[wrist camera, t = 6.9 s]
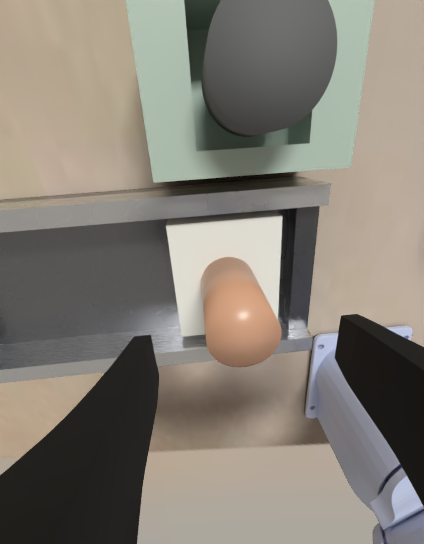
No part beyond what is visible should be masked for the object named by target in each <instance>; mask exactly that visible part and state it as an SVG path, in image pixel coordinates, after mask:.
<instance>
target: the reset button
mask: <svg viewBox="0 0 424 544" xmlns="http://www.w3.org/2000/svg"><path fill="white" fill-rule="evenodd" d="M336 55H337V29H336V23H335V18H334V14H333V11H332V8H331V6H330V3H329V1H328V0H221V1H220V3H219V5H218V6H217V8H216V11H215V13H214V15H213V18H212V21H211V24H210V27H209V32H208V37H207V43H206V49H205V56H204V62H203V69H202V78H201V79H202V93H203V97H204V101H205V104H206V107H207V109H208V111H209V113H210V115H211V116H212V118H213V119H214V120H215V121H216V123H217V124H218V125H219V126H221V127H222V128H223V129H224V130H226V131H228V132H230V133H232V134H234V135H238V136H243V137H251V136H257V135H261V134H266V133H270V132H274V131H278V130H282V129H285V128H288V127H290V126H292V125H294V124H296V123H297V122H299V121H300V120H302V119H303V118H304V117H305V116H307V115H308V114H309V113H310V112H311V111H312V110H313V109H314V107H315V106H316V105H317V104H318V102H319V101H320V99H321V98H322V96H323V94H324V93H325V91H326V89H327V87H328V85H329V82H330V80H331V77H332V74H333V70H334V66H335V62H336Z"/></svg>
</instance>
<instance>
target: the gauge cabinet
mask: <svg viewBox="0 0 424 544" xmlns="http://www.w3.org/2000/svg"><path fill="white" fill-rule="evenodd" d="M220 1H221V0H126V5H127V12H128V18H129V25H130V31H131V38H132V45H133V51H134V58H135V64H136V71H137V78H138V84H139V91H140V97H141V104H142V110H143V117H144V124H145V130H146V137H147V143H148V150H149V157H150V163H151V170H152V176H153V183H156V182H169V181H182V180H195V179H207V178H220V177H233V176H246V175H259V174H272V173H285V172H297V171H310V170H323V169H336V168H349V167H351V163H352V156H353V149H354V142H355V135H356V128H357V121H358V114H359V107H360V100H361V93H362V86H363V79H364V72H365V65H366V58H367V51H368V44H369V37H370V30H371V23H372V16H373V9H374V2H375V0H328V1H329V3H330V6H331V8H332V11H333V14H334V18H335V23H336V29H337V55H336V62H335V66H334V70H333V74H332V77H331V80H330V82H329V85H328V87H327V89H326V91H325V93H324V94H323V96H322V98H321V99H320V101H319V102H318V104H317V105H316V106H315V107H314V109H313V110H312V111H311V112H310V113H309V114H308V115H307V116H305V117H304V118H303V119H302V120H300V121H299V122H297V123H296V124H294V125H292V126H290V127H288V128H285V129H282V130H278V131H274V132H270V133H266V134H261V135H257V136H251V137H243V136H238V135H234V134H232V133H230V132H228V131H226V130H224V129H223V128H222V127H221V126H219V125H218V124H217V123H216V121H215V120H214V119H213V118H212V116H211V115H210V113H209V111H208V109H207V107H206V104H205V101H204V97H203V93H202V79H201V78H202V69H203V62H204V56H205V49H206V43H207V37H208V32H209V27H210V24H211V21H212V18H213V15H214V13H215V11H216V8H217V6H218V5H219V3H220Z"/></svg>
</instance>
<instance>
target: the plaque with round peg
mask: <svg viewBox="0 0 424 544" xmlns="http://www.w3.org/2000/svg"><path fill="white" fill-rule="evenodd" d="M282 217H283V216H282V215H281V214H279V213H278V212H276V211H275V210H267V211H255V212H243V213H231V214H219V215H207V216H195V217H183V218H171V219H168V221H167V224H166V230H167V237H168V244H169V251H170V258H171V265H172V272H173V279H174V286H175V293H176V300H177V307H178V314H179V321H180V328H181V335H182V337H184V336H194V335H204V334H206V344H207V348H208V350H209V352H210V354H211V355H212V356H213V357H214V358H215V359H216V360H217V361H219V362H221V363H222V364H225V365H228V366H232V367H247V366H252V365H255V364H258V363H260V362H262V361H264V360H265V359H267V358H268V357H269V356H271V355H272V354H273V352H274V351H275V350H276V349H277V347H278V345H279V343H280V340H281V326H280V324H279V321H278V305H279V283H280V261H281V239H282Z"/></svg>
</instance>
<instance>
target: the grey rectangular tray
mask: <svg viewBox="0 0 424 544" xmlns="http://www.w3.org/2000/svg"><path fill="white" fill-rule="evenodd" d="M330 185H331V184H330V183H325V182H321V181H317V180H312V179H308V178H304V177H299V176H298V177H285V178H272V179H260V180H247V181H234V182H222V183H209V184H196V185H183V186H171V187H158V188H145V189H132V190H120V191H107V192H94V193H82V194H69V195H56V196H43V197H31V198H18V199H5V200H0V383H6V382H16V381H25V380H34V379H44V378H53V377H63V376H72V375H81V374H91V373H100V372H106V371H107V370H108V369H109V368H110V366H111V365H112V364H113V363H114V361H115V360H116V359H117V358H118V356H119V355H120V354H121V352H122V351H123V350H124V349H125V347H126V346H127V345H128V343H129V342H130V341H131V340H132V338H133V337H134V336H143V335H151V338H152V343H153V348H154V353H155V358H156V363H157V366H166V365H175V364H184V363H194V362H203V361H213V360H216V359H215V358H214V357H213V356H212V355H211V354H210V352H209V350H208V348H207V344H206V334H204V335H194V336H184V337H182V335H181V328H180V321H179V314H178V307H177V300H176V293H175V286H174V279H173V272H172V265H171V258H170V251H169V244H168V237H167V230H166V224H167V221H168V219H171V218H183V217H195V216H207V215H219V214H231V213H243V212H255V211H267V210H275V211H276V212H278V213H279V214H281V215H282V216H283V217H282V239H281V261H280V283H279V305H278V321H279V324H280V326H281V340H280V343H279V345H278V347H277V349H276V350H275V351H274V352H273V354H278V353H288V352H297V351H306V350H311V349H312V341H313V337H312V335H311V334H310V332H309V331H308V329H307V324H308V314H309V304H310V294H311V284H312V275H313V265H314V255H315V245H316V236H317V226H318V216H319V206H325V205H328V203H329V194H330Z"/></svg>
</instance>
